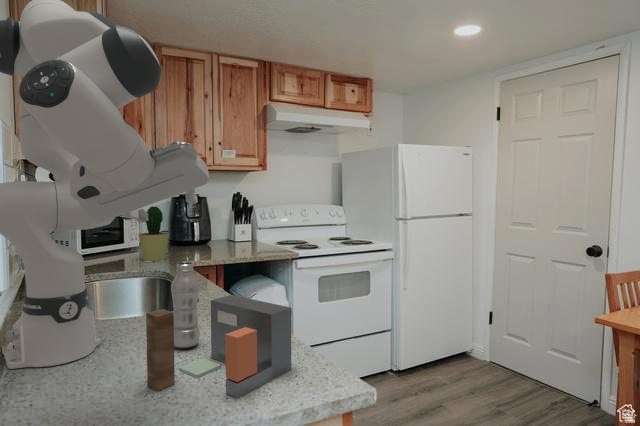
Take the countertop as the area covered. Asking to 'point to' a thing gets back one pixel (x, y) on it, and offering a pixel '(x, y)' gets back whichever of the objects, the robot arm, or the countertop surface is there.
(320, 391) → the countertop surface
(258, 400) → the countertop surface
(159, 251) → the potted cactus
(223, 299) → the box
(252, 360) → the plunger
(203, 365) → the pad
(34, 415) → the countertop surface
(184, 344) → the plastic bottle
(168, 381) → the peg
